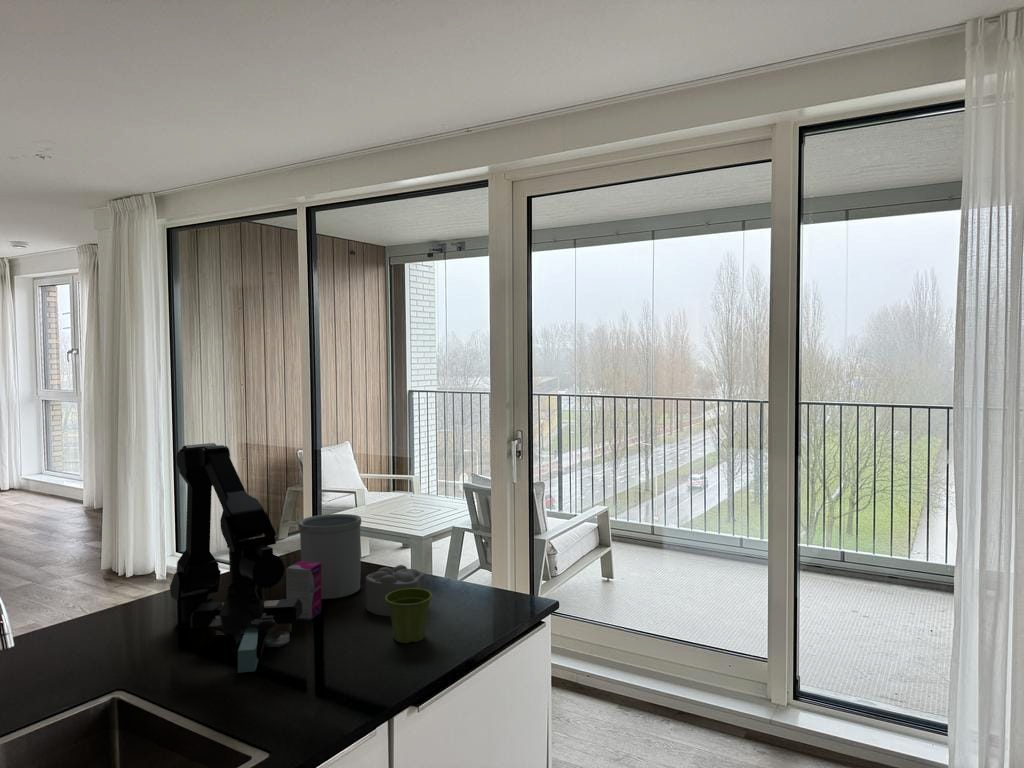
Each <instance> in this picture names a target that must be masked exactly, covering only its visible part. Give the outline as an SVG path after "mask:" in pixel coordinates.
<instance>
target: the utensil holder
mask: <svg viewBox="0 0 1024 768" xmlns="http://www.w3.org/2000/svg"><path fill="white" fill-rule="evenodd" d="M361 525H362V517H361V516H359V515H356V514H349V513H339V514H338V513H331V514H330V513H329V514H320V515H318V514H317V515H313V516H308V517H305V518H303V519H300V521H299V522H298V530H299V538H300V561H302V562H317V563H321V600H330V599H340V598H344V597H348V596H351V595H353V594H355V593H357V592H358V591H360V588H361V567H362V566H361Z"/></svg>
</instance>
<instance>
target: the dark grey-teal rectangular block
mask: <svg viewBox="0 0 1024 768" xmlns="http://www.w3.org/2000/svg"><path fill="white" fill-rule="evenodd" d="M257 626H258V624H251V625H250V627H249V628H247V629H246V630H245V633H244V635H242V637H241V644H240V646H239V649H238V660H237V674H238V673H239V674H241V673H250V672H256V671H257V667H258V664H259V660H260V659H257V639H258V631H257Z"/></svg>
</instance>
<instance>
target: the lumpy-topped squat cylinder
mask: <svg viewBox="0 0 1024 768" xmlns="http://www.w3.org/2000/svg"><path fill="white" fill-rule="evenodd" d="M425 581H426V580H425V573H424V572H423V571H421V570H417V569H415V568H407V566H406V565H403V564H399V565H396V566H394V567H393V568H390V567H386V566H385V567H380V568H379V569H378V570H377V571H372V572H371V573H369V574H367V575H366V576H365V600H366V601H365V605H366V607H365V608H367V609H366V610H367V612H369V611H370V612H369V613H371V612H372V614H374V615H378V616H386V617H387V616H388V617H391V614H390V608H389V607H388V602H387V601H386V599H385V597H386V595H387V594H389V593H390V592H392V591H395V590H399V589H405V588H420V589H425V590H426V585H425V584H426V582H425Z"/></svg>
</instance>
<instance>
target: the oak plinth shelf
mask: <svg viewBox="0 0 1024 768" xmlns="http://www.w3.org/2000/svg"><path fill="white" fill-rule="evenodd" d="M279 601H280V599H279V600H277V599H276V600H275V599H274V600H265V603H264V606H276V605H277V604H278V602H279ZM221 603H222V605H224V603H225V602H221ZM260 622H261V620H260V619H255V620H254V621H251V624H259V623H260ZM292 624H293V623H289V624H277V623H276V625H275V626H274V627H273V628H271V629H270V631H269V632H273V631H281V630H282V631H288V632H290V633H292V631H293V628H292V627H293V626H292ZM215 626H216V619H213V622H212V623H211V624H210V625H209V626H208V627H215ZM240 630H241V629H240ZM245 630H246V629H242V630H241V634H244V633H245ZM291 630H292V631H291ZM216 635H225V634H223V633H222V632H221V631H215V636H216Z"/></svg>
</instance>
